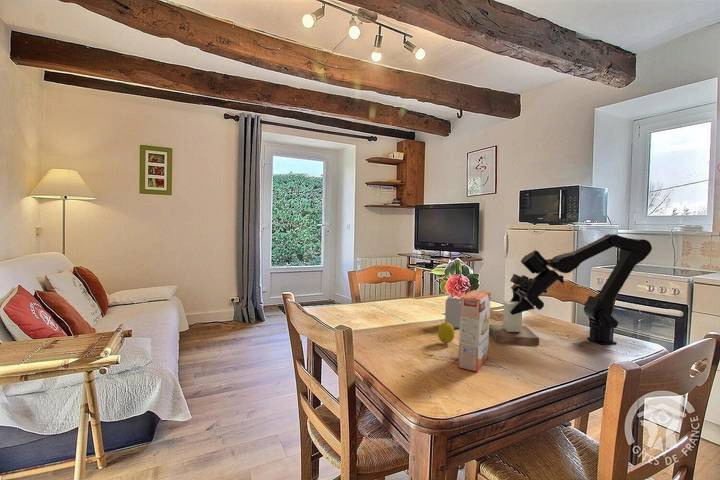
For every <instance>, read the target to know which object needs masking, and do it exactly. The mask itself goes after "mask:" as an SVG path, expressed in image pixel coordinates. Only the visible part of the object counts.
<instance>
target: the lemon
mask: <svg viewBox="0 0 720 480" xmlns="http://www.w3.org/2000/svg"><path fill="white" fill-rule="evenodd" d="M437 336H438V338H439V340H440V341H441V342H442V343H443V344H444V345H448V344H449V343H451V342H453V340H454V338H455V328H453V326H452V325H451V324H450V323H448V322H447V321H446V322H445V321H444V322H442V323H441V324H439V326H438V330H437Z"/></svg>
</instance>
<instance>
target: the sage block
mask: <svg viewBox="0 0 720 480" xmlns="http://www.w3.org/2000/svg"><path fill="white" fill-rule="evenodd" d="M517 303H518V301H511V300H510V301H509V300H503V314H502V315H503V316H502V317H503V321H502V322H503V323H502V325H503V328H504V329H505V330H506V331H507V332H522V326H523V312H520V313H517V314H514V315H512V314H511V313H510V312H511V311H512V309H513V308H514V307H515V306H516V305H517Z"/></svg>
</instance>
